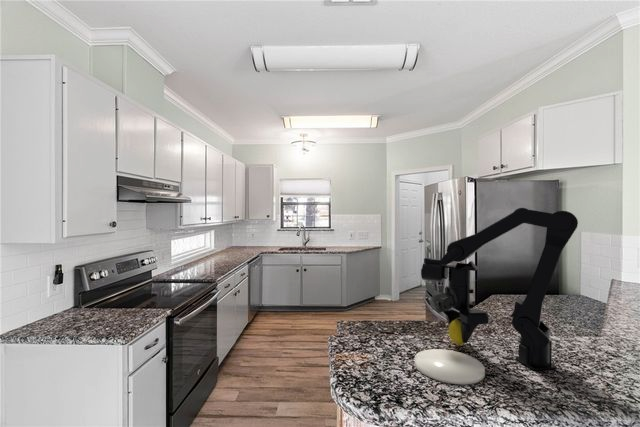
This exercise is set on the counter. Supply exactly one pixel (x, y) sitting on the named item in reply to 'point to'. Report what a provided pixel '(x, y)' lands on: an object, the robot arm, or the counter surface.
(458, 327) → the lemon
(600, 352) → the counter surface
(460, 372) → the plate
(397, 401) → the counter surface
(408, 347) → the counter surface
